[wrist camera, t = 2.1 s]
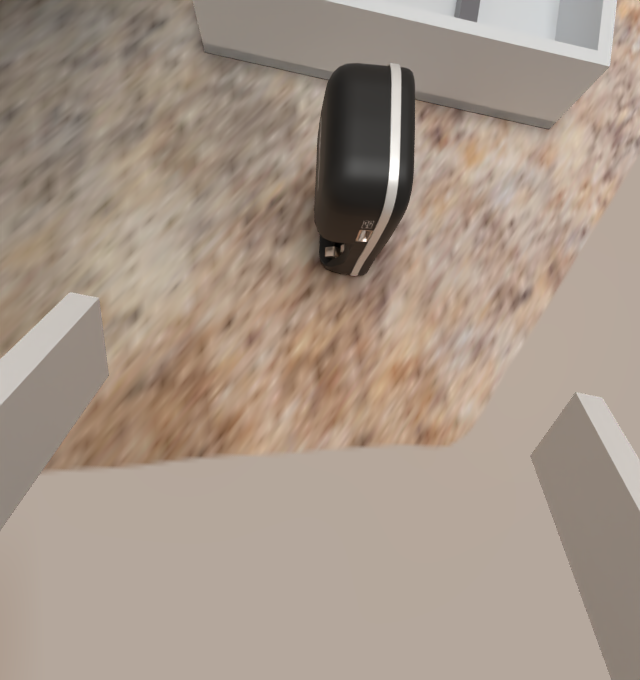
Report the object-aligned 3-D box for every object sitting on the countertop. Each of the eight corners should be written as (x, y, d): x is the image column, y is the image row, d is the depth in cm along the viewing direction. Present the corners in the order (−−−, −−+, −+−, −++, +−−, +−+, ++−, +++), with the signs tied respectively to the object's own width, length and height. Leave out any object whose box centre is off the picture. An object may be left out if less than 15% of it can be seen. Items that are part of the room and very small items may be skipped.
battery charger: (311, 173, 30) (326, 35, 19) (369, 177, 30) (418, 44, 19) (306, 276, 29) (319, 197, 18) (366, 280, 29) (416, 204, 18)
